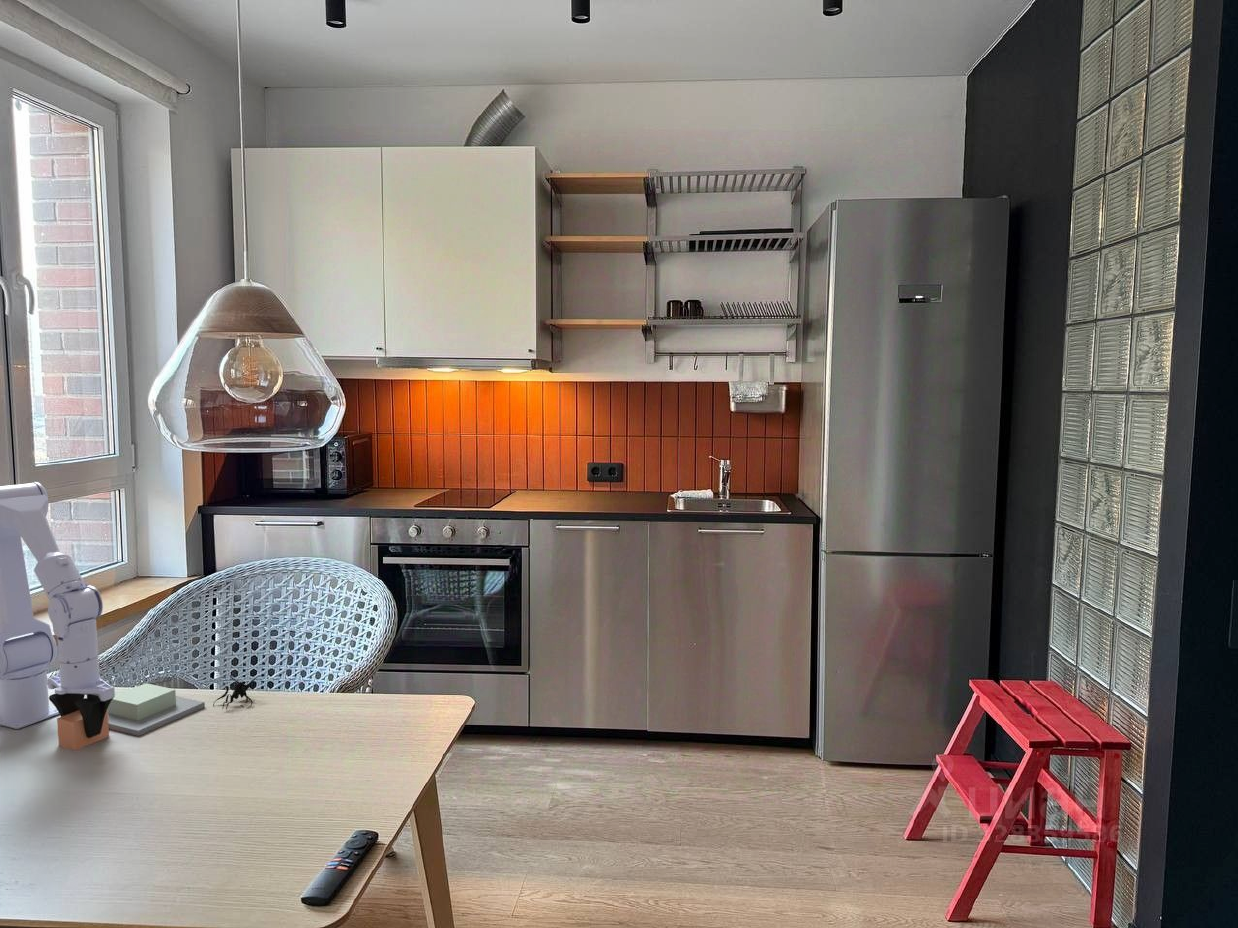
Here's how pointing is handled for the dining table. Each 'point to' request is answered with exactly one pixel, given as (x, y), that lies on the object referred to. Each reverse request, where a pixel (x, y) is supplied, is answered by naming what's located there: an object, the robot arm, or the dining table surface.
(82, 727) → the top brick
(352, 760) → the dining table surface
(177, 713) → the tower base
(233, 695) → the creature
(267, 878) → the dining table surface
